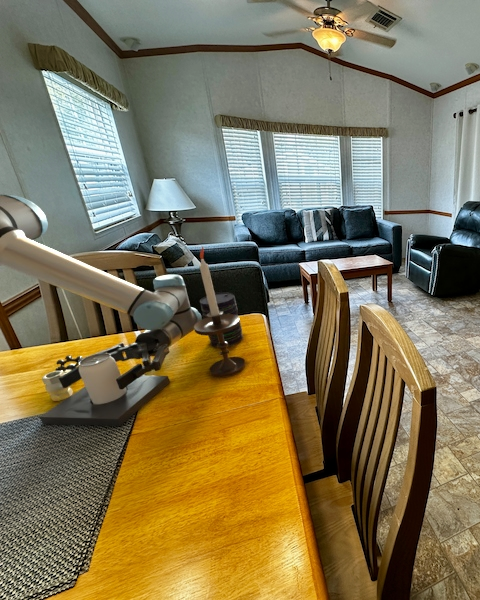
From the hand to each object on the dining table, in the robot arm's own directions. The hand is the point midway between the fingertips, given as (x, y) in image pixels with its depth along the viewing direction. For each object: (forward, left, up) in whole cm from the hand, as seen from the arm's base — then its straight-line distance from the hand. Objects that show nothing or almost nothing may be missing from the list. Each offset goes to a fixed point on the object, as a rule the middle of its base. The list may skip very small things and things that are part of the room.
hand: (90, 383), depth 75 cm
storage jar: (+12, +34, -7) cm, 37 cm away
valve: (-16, +7, -7) cm, 19 cm away
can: (0, +3, -7) cm, 8 cm away
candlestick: (+21, +18, -7) cm, 29 cm away
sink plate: (0, +3, -7) cm, 8 cm away
